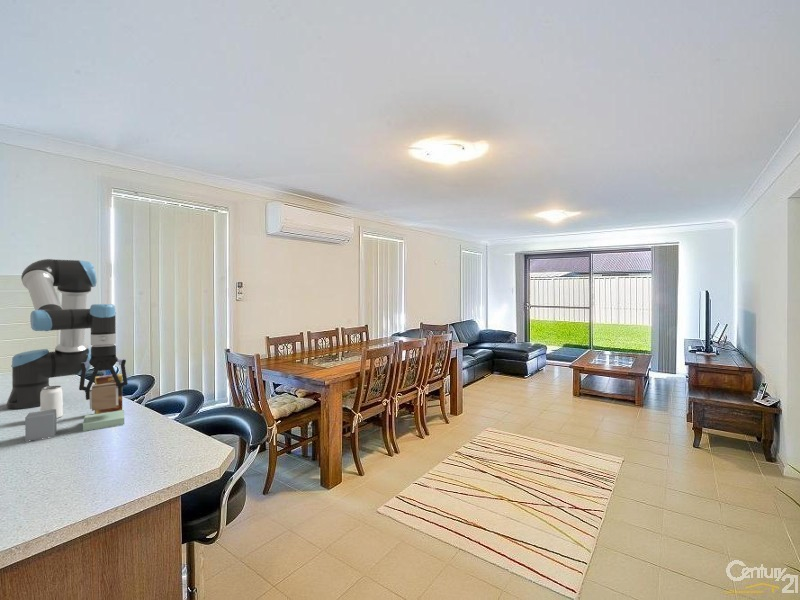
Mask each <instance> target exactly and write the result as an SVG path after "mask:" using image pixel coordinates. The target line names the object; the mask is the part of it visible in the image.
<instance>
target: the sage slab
mask: <svg viewBox="0 0 800 600" xmlns="http://www.w3.org/2000/svg"><path fill="white" fill-rule="evenodd" d="M123 424H124V425H125V411H124V409H122V410H120V411H113V412H107V413H100V414H95V413H94V414H88V415H87V414H86V415H84V418H83V422H82V432H87V430H89V431H93V429H95V430H100V428H101V429H106V427H107V428H113V427H118V426H117V425H119V426H124V425H123ZM112 426H113V427H112Z"/></svg>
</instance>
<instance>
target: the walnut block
mask: <svg viewBox="0 0 800 600" xmlns="http://www.w3.org/2000/svg"><path fill="white" fill-rule="evenodd" d="M91 390H92V409H91V411H93V412H95V410H101V409H108V408H115V407H116V383H107V384H98V385H95V384H92V386H91Z"/></svg>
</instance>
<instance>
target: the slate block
mask: <svg viewBox="0 0 800 600" xmlns="http://www.w3.org/2000/svg"><path fill="white" fill-rule="evenodd" d="M57 419H58V418H56V409H53V410H45V411H41V410H39V411H32V412H28V413H27V415H26V416H25V417H24V425H25V426H24V429H25V432H24V433H25V435H24V436H25V437H24V438H25V442H26V441H29V440H35V441H37V440H36V439H41V440H43V439H42V438H47V439H49V438H48V437H53V438H55V436H56V433H57V431H58V428H57ZM29 442H30V441H29Z"/></svg>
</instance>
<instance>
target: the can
mask: <svg viewBox="0 0 800 600" xmlns="http://www.w3.org/2000/svg"><path fill="white" fill-rule="evenodd" d="M63 396H64V395H63V388H62V386H61V385H51V386H50V385H49V387H44V388H42V391H41V392H40V406H39V409H40V410H39V411H45V410H53V409H56V418H57V419H60V418H62V417H63V415H64V414H63V413H64V407H63V406H64V405H63Z"/></svg>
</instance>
